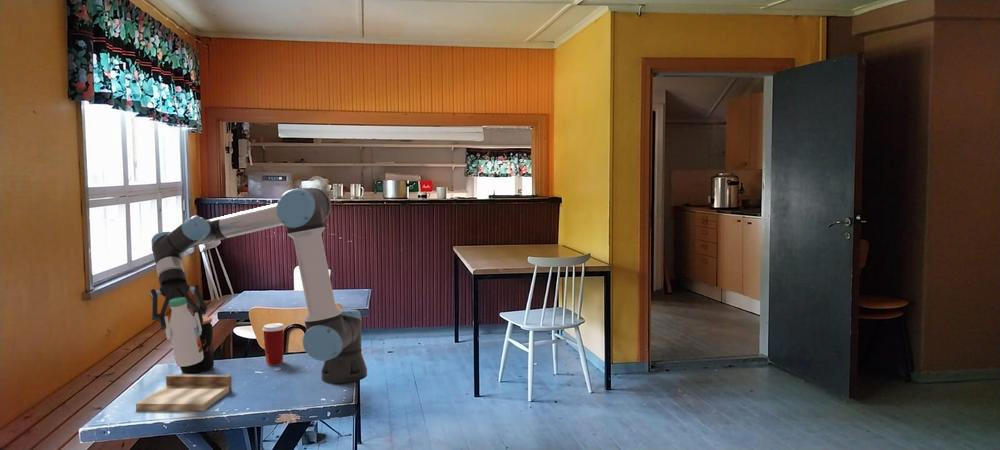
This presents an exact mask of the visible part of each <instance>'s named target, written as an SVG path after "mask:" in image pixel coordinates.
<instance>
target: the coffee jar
mask: <svg viewBox="0 0 1000 450" xmlns="http://www.w3.org/2000/svg"><path fill="white" fill-rule="evenodd" d="M202 317H203V323H202V324H201V328H202V332H201V335H199V336H200V341H201V345H202V350H203V356H204V358H203V360H202V361H201V362H199V363H196V364H194V365H190V366H183V367H181V366H179V367H180V370H181V372H182V373H183V374H185V375H199V374H204V373H207V372H210V371H211V370H212V369H213V367H214V365H215V363H214V361H215V359H214V357H215V356H214V355H215V354H214V334H213V332H214V331H213V324H212V321H213V317H211V316H206V315H205V316H204V315H202Z"/></svg>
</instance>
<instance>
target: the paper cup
mask: <svg viewBox="0 0 1000 450" xmlns="http://www.w3.org/2000/svg"><path fill="white" fill-rule="evenodd" d="M285 328H286V327H285V326H284V324H283V323H279V322H277V323H275V322H274V323H267V324H264V326H263V327H262V331H263V341H264V342H263V343H264V350H265V351H264V352H265V362H266V365H267V364H268V366H277V364H279V365H281V364H280V363H282V362H284V343H285V341H284V338H285V335H284V334H285ZM282 364H283V363H282Z"/></svg>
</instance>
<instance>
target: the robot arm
mask: <svg viewBox="0 0 1000 450" xmlns="http://www.w3.org/2000/svg"><path fill="white" fill-rule="evenodd" d="M331 211H332V202H331V198H330V197H329V195H328V194H327V192H325V191H324V190H322V189H320V188H318V187H299V188H298V187H296V188H294V189H290V190H287V191H285V192H284V193H283V194H282V195H280V197H279V199H278V200H277V203H273V204H269V205H265V206H260V207H256V208H252V209H248V210H243V211H239V212H236V213H232V214H231V213H230V214H227V215H224V216H219V217H213V218H210V219H205V218H203V217H200V216H199V215H193V216H191V217H190V218H188V219H185V221H184V222H182V223H181V224H180V225H179V226H177V227H176V228H175V229H173V230H172V231H167V230H166V231H161V232H160V233H159V232H157V233H156V234H154V235H153V236H152V238H151V241H150V242H151V251H152V254H153V255H152V256H153V257H154V263H155V267H156V273H157V277H158V282H159V289H154V288H151V290H150V293H149V294H150V295H149V296H150V299H151V320H152V321H158V323H159V325H160V328H161V329H160V330H164V331H165V336H166V339H167V341H168V340H170V341H171V331H170V326H169V322H170V320H169V318H168V315H167V316H166V314H167V310H168V308H169V306H170V305H169V301H170V300H172V299H174V298H179V297H185V298H186V301H187V308H188V309H190V310H191V312H192V313H193V314H194V316H193V317H194V318H195V320H196V323H197V327H198V332H199V335H201V332H202V328H201V324H202V323H203V317H202V316H203V315H206V313H207V311H208V307H207V305H206V303H205V300H204V298H203V296H202V295H201V292H200V285H198V284H195V285H194V286H190V285H189V284H188V281H187V277H186V273H185V269H184V265H183V261H182V255H183V254H184V253H186V252H187V251H189V249H191V248H192V247H194V246H197V245H200V244H207V243H211V242H219V241H222V240H225V239H229V238H233V237H236V236H241V235H247V234H251V233H254V232H259V231H263V230H268V229H271V228H277V227H279V226H280V227H281V226H284V227H285V230H286V235H287V236H289V237H290V238H291V239H292V240H293V243H294V249H295V253H296V254H295V255H296V259H297V263H298V269H299V273H300V278H301V283H302V288H303V293H304V299H305V304H306V310H307V315H306V317H305V318H304V325H305V332H304V335H303V338H302V347H303V349H304V351H305V353H306V354H307V355H308V356H309V357H310V358H313V359H314V360H316V361H319V362H323V365H322V369H321V373H320V375H321V376H320V377H321V380H322V381H323V382H326V383H329V384H330V383H331V384H349V383H354V382H358V381H361V380H363V379H365V378H366V377H367V376H368V368H367V365H366V361H365V359H364V356H363V352H362V314H361V312H360V311H359V310H358V309H352V308H351V309H350V308H349V309H348V308H338V307H337V306H336V301H335V297H334V292H333V286H332V281H331V276H330V271H329V265H328V261H327V255H326V250H325V245H324V240H323V236H322V233H323V231H324V230H325V229H326V225H325V219H327V218H328V216H330V213H331ZM189 292H191V294H192V295H193V297H194V299H195V301H196V302H195V301H194V300H193V299H192V298H191V296H190V294H189ZM160 295H162V296H163V297H164V298H165V300H164V301H163V305H162V308H161V311H160V313H158V300H159V299H158V298H159V296H160Z"/></svg>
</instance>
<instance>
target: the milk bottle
mask: <svg viewBox="0 0 1000 450" xmlns="http://www.w3.org/2000/svg"><path fill="white" fill-rule="evenodd" d="M168 306H169V308H170V310H171V313H170V314H171V315H170V319H169V326H170V331H171V338H170V342H171V347H172V351H173V356H174V362H175V364H176V366H177V367H180V366H181V367H183V366H190V365H194V364H196V363H199V362H201V361H202V360H203V358H204V356H203V350H202V345H201V341H200V336H199V332H198V327H197V323H196V320H195V318H194V316H193V314H192V313H191V312H190V310H189V307H188V306H187V301H186V298H185V297H179V298H174V299H172V300H170V301H169V305H168Z"/></svg>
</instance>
